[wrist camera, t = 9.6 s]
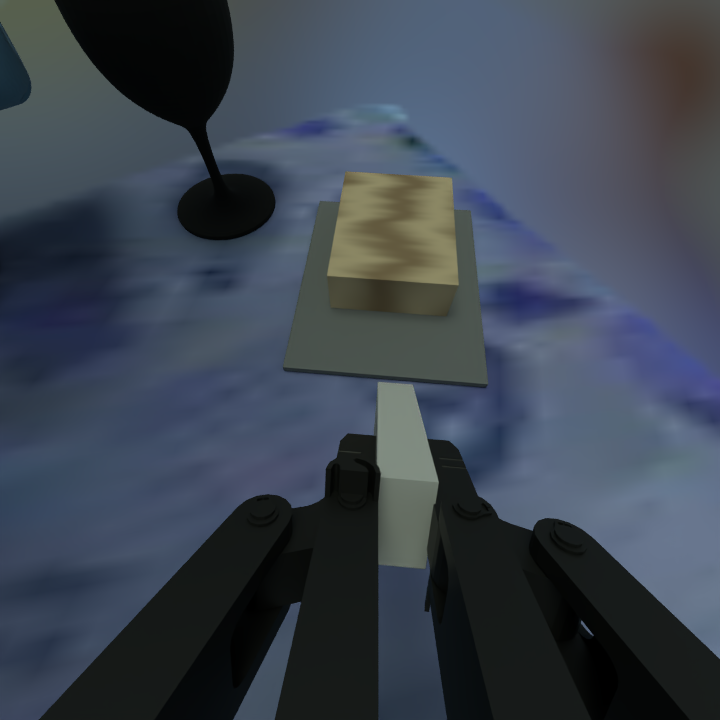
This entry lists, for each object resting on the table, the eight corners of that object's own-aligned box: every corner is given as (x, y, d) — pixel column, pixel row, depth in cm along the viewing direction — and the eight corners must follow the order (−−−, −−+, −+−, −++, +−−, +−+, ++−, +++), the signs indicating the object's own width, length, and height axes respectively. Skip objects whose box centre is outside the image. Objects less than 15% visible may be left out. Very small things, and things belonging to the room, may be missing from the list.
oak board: (326, 275, 25) (345, 171, 31) (330, 307, 29) (346, 208, 35) (458, 285, 25) (451, 177, 31) (446, 316, 28) (442, 214, 35)
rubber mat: (284, 370, 27) (282, 367, 26) (320, 206, 36) (319, 201, 35) (485, 387, 26) (488, 384, 25) (468, 215, 35) (470, 210, 35)
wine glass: (268, 241, 33) (168, -89, 16) (166, 240, 33) (-49, -91, 16) (281, 177, 38) (215, -130, 21) (191, 176, 38) (49, -131, 21)
